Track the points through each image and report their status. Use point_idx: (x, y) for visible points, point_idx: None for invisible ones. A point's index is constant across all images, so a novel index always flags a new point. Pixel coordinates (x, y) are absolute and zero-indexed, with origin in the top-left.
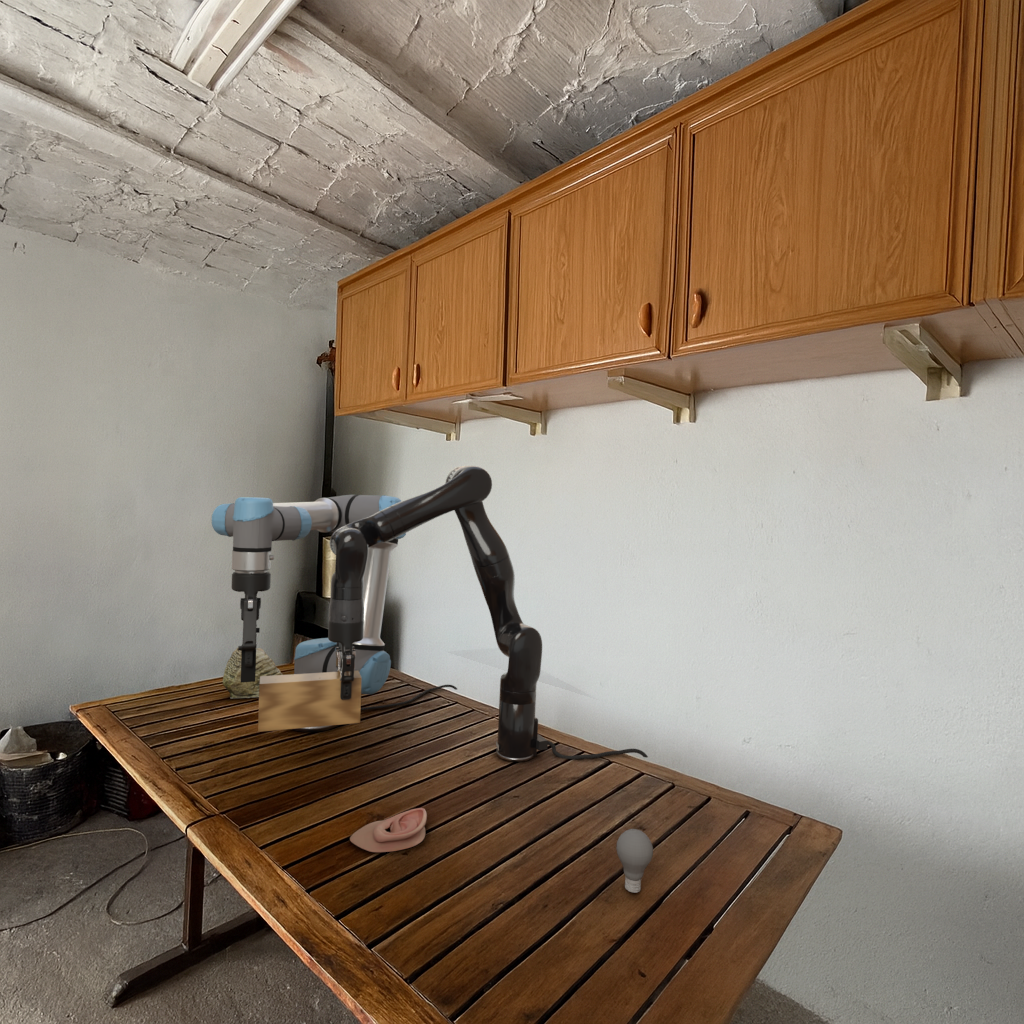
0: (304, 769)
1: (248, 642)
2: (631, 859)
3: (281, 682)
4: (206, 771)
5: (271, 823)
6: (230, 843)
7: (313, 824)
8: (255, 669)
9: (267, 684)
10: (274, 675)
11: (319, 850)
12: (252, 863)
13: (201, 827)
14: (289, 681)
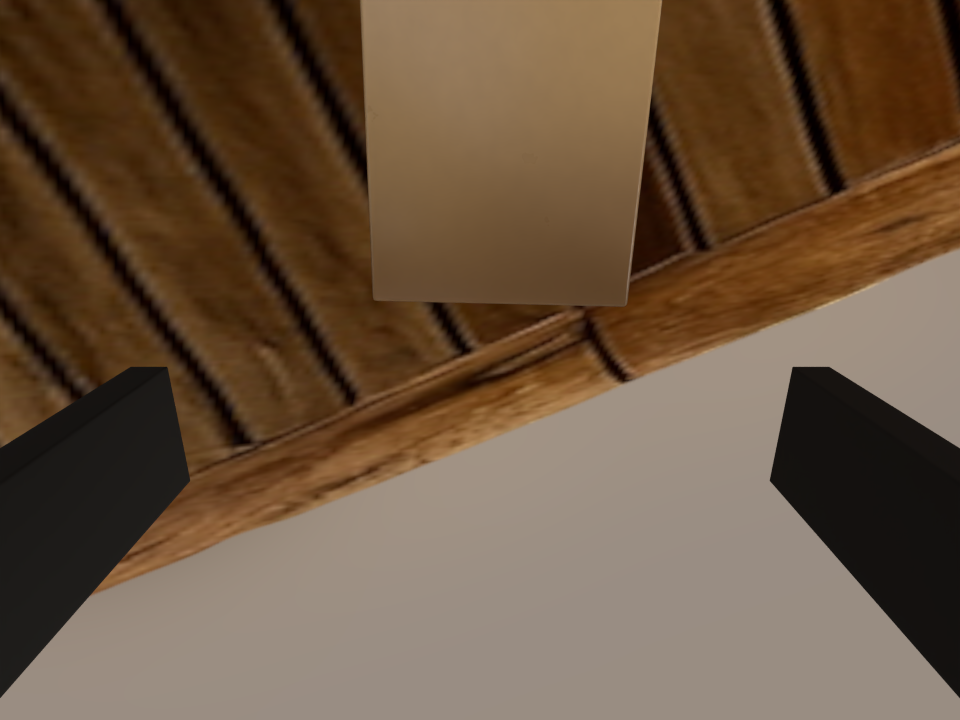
0: (313, 16)
1: (10, 599)
2: None
3: (644, 101)
4: (272, 362)
5: (706, 158)
6: (772, 273)
7: (772, 15)
8: (914, 421)
9: (634, 236)
10: (373, 167)
11: (944, 9)
12: (907, 213)
13: (649, 349)
14: (635, 11)
